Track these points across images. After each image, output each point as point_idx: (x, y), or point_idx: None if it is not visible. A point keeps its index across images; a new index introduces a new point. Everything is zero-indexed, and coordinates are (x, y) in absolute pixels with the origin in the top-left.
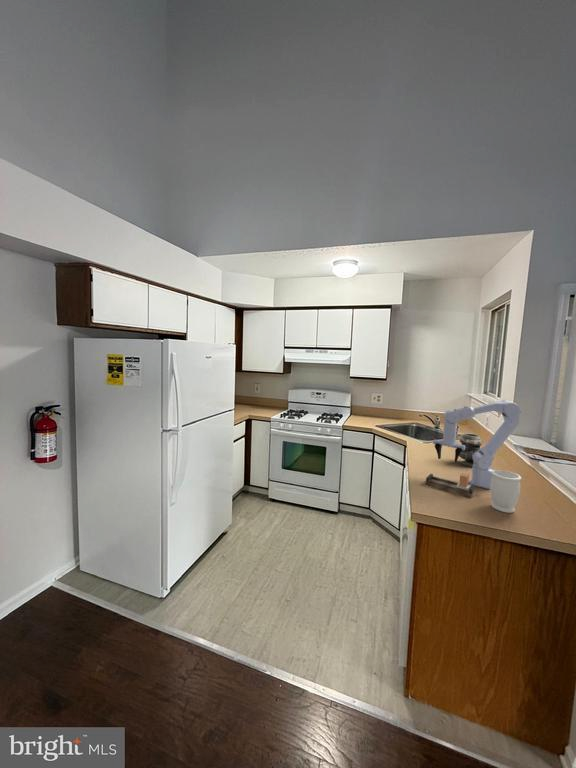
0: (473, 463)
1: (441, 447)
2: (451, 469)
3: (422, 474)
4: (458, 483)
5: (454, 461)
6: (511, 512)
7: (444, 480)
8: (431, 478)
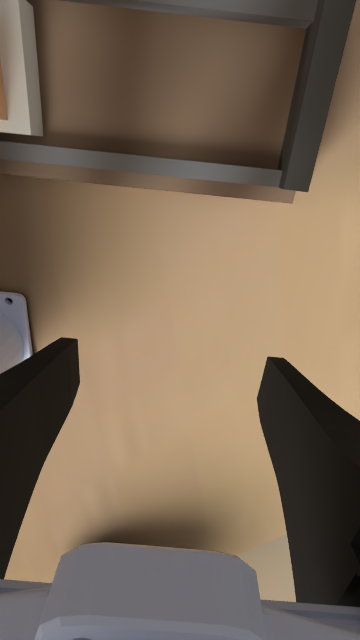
0: None
1: (295, 564)
2: (176, 472)
3: (350, 283)
4: (23, 85)
5: (72, 343)
6: None
7: (170, 157)
8: (287, 133)
